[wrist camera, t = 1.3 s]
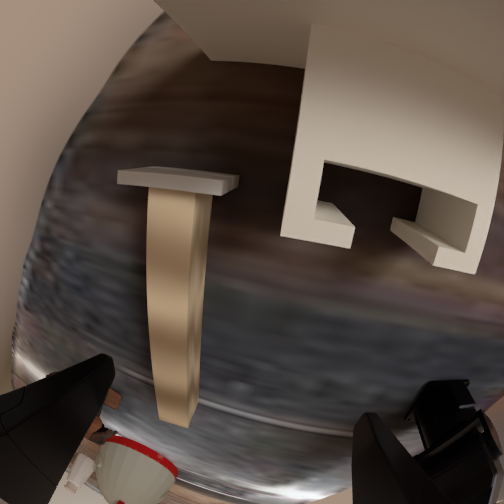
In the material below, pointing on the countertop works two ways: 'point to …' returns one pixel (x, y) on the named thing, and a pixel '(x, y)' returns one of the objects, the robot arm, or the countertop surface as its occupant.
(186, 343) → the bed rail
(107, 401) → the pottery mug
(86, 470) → the pepper shaker
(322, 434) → the countertop surface
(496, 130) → the white angular piece
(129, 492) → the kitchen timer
